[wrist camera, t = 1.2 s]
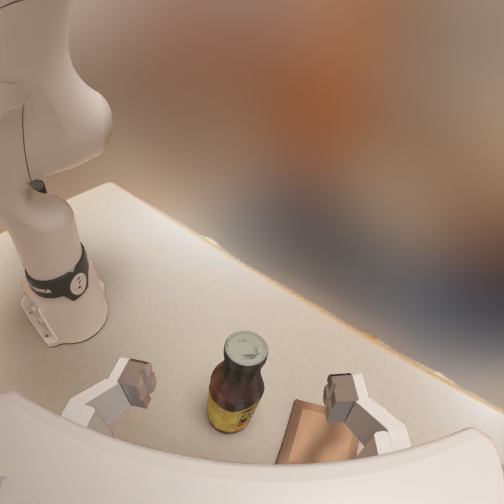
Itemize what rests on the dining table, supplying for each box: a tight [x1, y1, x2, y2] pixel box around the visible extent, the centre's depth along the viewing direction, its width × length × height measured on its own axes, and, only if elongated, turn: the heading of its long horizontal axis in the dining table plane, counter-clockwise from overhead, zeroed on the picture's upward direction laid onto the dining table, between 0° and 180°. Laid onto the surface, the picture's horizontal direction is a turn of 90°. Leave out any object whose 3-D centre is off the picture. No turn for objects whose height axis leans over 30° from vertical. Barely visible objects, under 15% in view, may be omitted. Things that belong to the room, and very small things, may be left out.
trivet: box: [276, 399, 359, 464], centre depth 32 cm, size 12×12×1 cm
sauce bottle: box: [208, 331, 268, 433], centre depth 29 cm, size 7×6×20 cm
